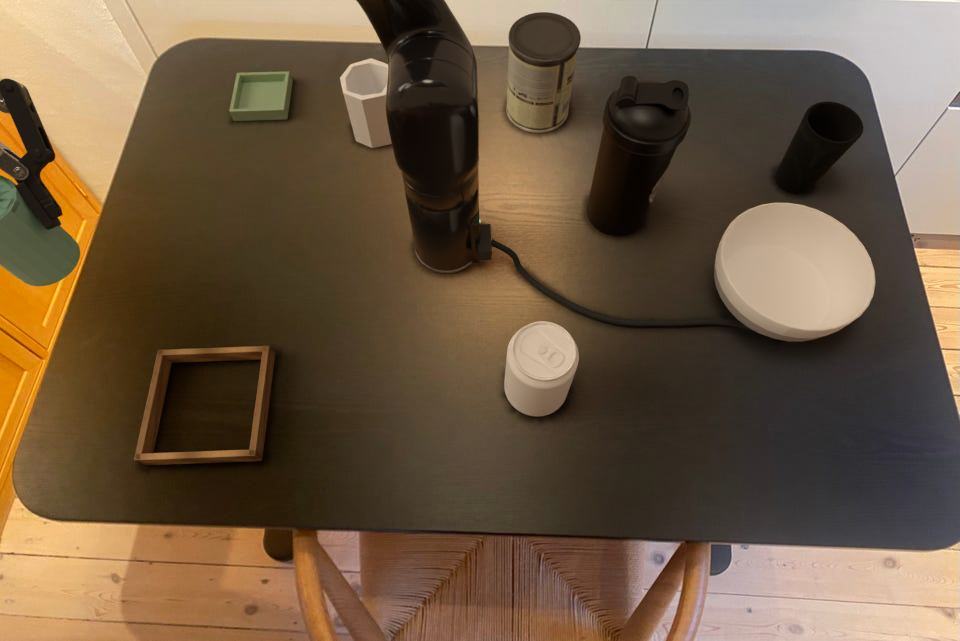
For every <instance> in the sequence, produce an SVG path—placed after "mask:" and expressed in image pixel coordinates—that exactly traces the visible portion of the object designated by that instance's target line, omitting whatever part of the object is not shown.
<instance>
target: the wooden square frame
mask: <svg viewBox="0 0 960 641" xmlns="http://www.w3.org/2000/svg"><path fill="white" fill-rule="evenodd" d="M255 360H260V366H259V374H258V380H257V388H256V395H255V403H254V412H253V418H252V425H251V435H250V441H249V447H248V449H227V450H226V449H225V450H223V449H222V450H200V451H199V450H198V451H174V452H155V447H156V442H157V436H158V432H159V428H160V423H161V418H162V413H163V407H164V402H165V398H166V393H167V388H168V384H169V379H170V374H171V369H172V364H173V363H174V364H177V363H203V362H229V361H255ZM275 362H276V352H275V351H274V350H273V349H272V348H271V346H270V345H255V346H230V347H229V346H227V347H200V348H199V347H198V348H172V349H170V348H169V349H158V350H157V353H156V357H155V361H154V366H153V370H152V377H151V379H150V385H149V389H148V393H147V398H146V403H145V407H144V412H143V416H142V421H141V424H140V425H141V426H140V430H139V434H138V440H137V444H136V448H135V453H134V457H133V461H134V462H136V463H139V464H140V465H143V466H164V465H185V464H186V465H189V464H215V463H217V464H218V463H241V462H243V463H244V462H245V463H246V462H262V461H263V458H264V457H263V456H264V450H265V441H266V432H267V425H268V416H269V409H270V400H271V392H272V384H273V376H274V368H275Z"/></svg>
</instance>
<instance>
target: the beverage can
mask: <svg viewBox="0 0 960 641" xmlns="http://www.w3.org/2000/svg"><path fill="white" fill-rule="evenodd" d="M579 361H580V353H579V349H578V345H577V342H576V341H575V339H574V338H573V336H572V335H571V334H570V332H569V331H568V330H567V329H565V328H564V327H563V326H561V325H559V324H558V323H555V322H552V321H548V320H547V321H546V320H539V321H538V320H537V321H534V322H530V323H528V324H526V325H524V326H522V327H520V329H519V330H517V331H516V332H515V333H514V334H513V336H512V337H511V338H510V340H509V343H508V345H507V349H506V359H505V370H504V381H503V383H504V384H503V388H504V393H505V397H506V398H507V400H508V402H509V404H510V405H511V406H512V407H513V408H514V409H515V410H517V411H518V412H520V413H521V414H524V415H526V416H530V417H545V416H549V415H551V414H553V413H555V412H556V411H557V410H559V409H560V408H561V407H562V405H563V404H564V403H565V401H566V399H567V397H568V394H569V391H570V388H571V386H572V384H573V380H574V377H575V375H576V372H577V369H578V366H579Z"/></svg>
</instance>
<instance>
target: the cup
mask: <svg viewBox="0 0 960 641" xmlns="http://www.w3.org/2000/svg"><path fill="white" fill-rule="evenodd" d="M863 134H864V123H863V120H862V119H861V117H860V115H859V114H858V113H857V112H856V111H855V110H854V109H852V108H851V107H849V106H847V105H845V104H843V103H840V102H836V101H819V102H816V103H814V104H811V105H810V106H809V107H808V108H807V109H806V110H805V113H804V114H803V117H802V119H801V121H800V123H799V125H798V127H797V129H796V131H795V132H794V135H793V137H792V139H791V141H790V143H789V145H788V147H787V149H786V150H785V153H784V154H783V157H782V159H781V161H780V163H779V165H778V167H777V169H776V171H775V174H774V180H775V183H776V185H777V186H778V188H780V189H781V190H782V191H784V192H786V193H789V194H791V195H803V194H806V193H808V192H809V191H810V190H811V189H812V188H813V187H814V186H815V185H816V184H817V183H818V182H819V181H820V180H821V179H822V177H823V176H825V175H826V174H827V173H828V172H829V171H830V170H831V168H832V167H833V166H834V165H835V164H836V163H837V162H838V161H839V160H840V159H841V158H842V157H843V156H844V154H846V152H847V151H848V150H849V149H850V148H851V147H853V145H854V144H855V143H856V142H857V141H859V139H860V138H861V137H862V135H863Z"/></svg>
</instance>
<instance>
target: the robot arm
mask: <svg viewBox="0 0 960 641" xmlns="http://www.w3.org/2000/svg"><path fill="white" fill-rule="evenodd" d="M355 1H356V2H357V3H358V5H359V7H360V8H361V9H362V11H363V12H364V14H365V16H366V17H367V19H368V21H369V23H370V24H371V26H372V28H373V30H374V32H375V33H376V35H377V38H378V40H379V41H380V42H379V43H380V44H381V46H382V49H383V51H384V53H385V56H386V60H387V64H388V78H387V91H386V117H387V123H388V129H389V133H390V138H391V143H392V144H391V147H392V150H393V156H394V160H395V163H396V165H397V167H398V169H399V170H400V171H401V177H402V183H403V189H404V194H405V201H406V204H407V205H406V206H407V211H408V217H409V222H410V228H411V233H412V238H413V247H414V253H415V256H416V258H417V260H418V262H419V264H420V263H421V265H422V266H423V267H424V268H426V269H428V270H430V271H431V272H434V273H437V274H443V275H445V274H446V275H448V274H449V275H450V274H451V275H452V274H455V273H459V272H461V271H464V270H466V269H468V268H469V267H470V266H472V265H474V264H479V263H481V262H482V261H483V262H484V261H492V260H493V248H494V249H496V250H499V251H501V252H503V253H504V254H506V255H507V256H508V257H509V258H510V259H511V260H512V262H513V265H514V267H515V268H516V270H517V272H518V273H519V274H520V275H521V277H523V279H525V280H526V281H527V282H529V284H530V285H531V286H532V287H534V288H536V290H538V291H540V292H541V293H542V294H545V295H546V296H548V297H549V298H551V299H553V300H554V301H556V302H558V303H560V304H562V305H563V306H565V307H567V308H569V309H571V310H573V311H574V312H577V313H578V314H581V315H584V316H585V317H589V318H591V319H593V320H597V321H600V322H604V323H608V324H612V325H618V326H624V327H687V326H688V327H690V326H709V325H710V326H724V327H731V328H738V329H742V330H746V331H749V332H753V333H756V332H755V331H754V330H752V329H750V328H748V327H746V326H745V325H744V324H743V323H741V322H740V321H739V320H737V319H736V320H735V319H728V318H719V317H717V318H715V317H701V318H699V317H698V318H685V319H683V318H681V319H629V318H621V317H616V316H611V315H606V314H603V313H599V312H596V311H594V310H591V309H588V308H586V307H584V306H581V305H579V304H578V303H575V302H573V301H571V300H570V299H568V298H566V297H564V296H562V295H561V294H559V293H557V292H555V291H554V290H552V289H550V288H549V287H547V286H545V285H544V284H542V283H541V282H540V281H538V280H537V279H536V278H535V277H534V276H532V275H531V274H530V273H529V271H528V270H526V268H524V266H523V265H522V263H521V260H520V257H519V255H518V254H517V253H516V252H515V250H513V249H512V248H511V247H510V246H507V245H506V244H503V243H501V242H499V241H498V240H496V239H492V224H491V223H481V219H480V195H479V194H480V191H479V188H480V186H479V184H480V183H479V182H480V181H479V179H480V178H479V176H480V174H479V165H480V164H479V161H480V144H479V143H480V122H479V120H480V118H479V117H480V114H479V84H478V83H479V80H478V77H479V76H478V62H477V58H476V54H475V51H474V49H473V46H472V44H471V42H470V40H469V38H468V35H466V33H465V31H464V29H463V28H462V26H461V24H460V22H458V21H459V20H458V19H457V18H456V16H455V15H454V13H453V11H452V10H451V9H450V7H449V5H448V3H447V1H446V0H355ZM0 112H1V113H4V114H7V115H10V117H11V119H12V122H13V124H14V127H15V128H16V131H17V132H18V135H19V137H20V139H21V142H22V144H23V146H24V149H25V151H26V152H25V153H24V155H22V156H20V155H19V154H17V153H15V152H14V151H13V150H12V149H11V148H10V147H9V146H7V145H6V144H4V143H3V142H2V141H0V170H1V171H2V172H4V173H5V174H7V175H8V176H10V177H11V178H12V179H14V181H15V182H16V183H17V184H16V185H15V187H16V189H17V190H18V192H19V193H20V194H21V196H22V197H23V198H24V200H25V201H26V203H27V204H28V205H29V207H30V208H31V209H32V211H33V212H34V214H35V215H36V216H37V218H38V219H39V221H40V222H41V223H42V225H43V226H44V227H45V228H46V229H47V230H50V229H53V228H55V227H57V226H59V225H60V226H62V222H61V220H60V218H59V217H62V216H63V211H62V207H61V206H60V204H59V203H58V201H57V200H56V198H55V197H54V196H53V195H52V192H50V190H49V188H47V186H46V184H45V183H44V182H43V180H42V178H41V173H42V171H43V169H44V168H45V167H47V165H48V164H51V163H52V162H54V161H55V159H56V153H55V150H54V148H53V145H52V143H51V141H50V138H49V136H48V134H47V132H46V129H45V127H44V124H43V121H42V120H41V117H40V115H39V112H38V111H37V108H36V106H35V103H34V101H33V99H32V96H31V94H30V92H29V89H28V88H27V87H26V85H24V84H22V83H20V82H19V81H17V80H14V79H11V78H2V79H0Z"/></svg>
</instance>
